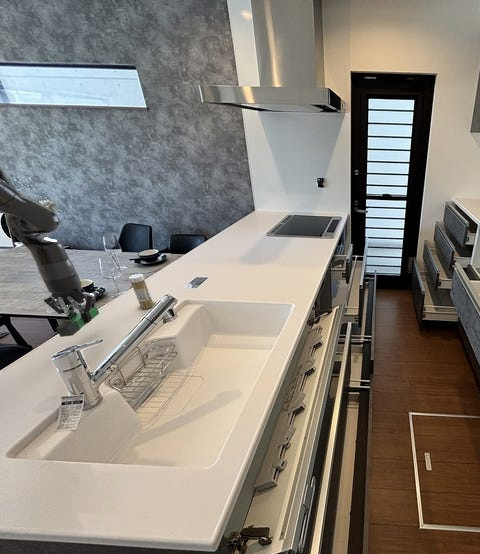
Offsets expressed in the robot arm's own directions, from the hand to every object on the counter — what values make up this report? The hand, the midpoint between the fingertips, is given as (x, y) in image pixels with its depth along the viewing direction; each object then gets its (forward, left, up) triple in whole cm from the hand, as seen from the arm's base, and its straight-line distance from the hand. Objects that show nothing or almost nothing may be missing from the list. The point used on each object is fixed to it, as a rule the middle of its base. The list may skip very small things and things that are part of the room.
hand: (82, 322), depth 99 cm
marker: (0, -1, 0) cm, 1 cm away
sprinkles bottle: (+8, +21, -7) cm, 23 cm away
